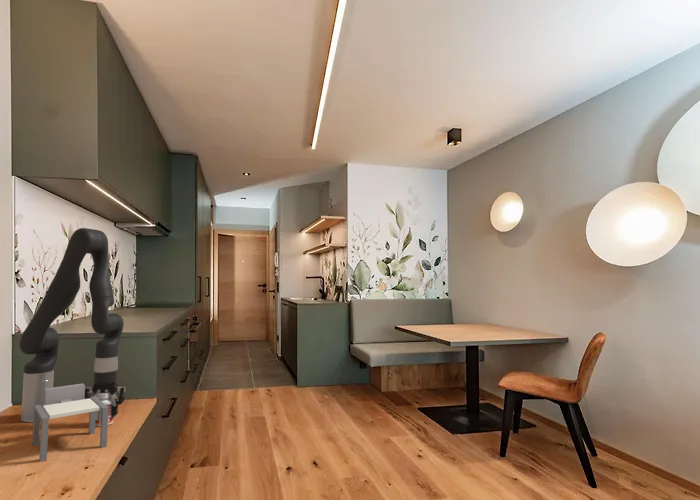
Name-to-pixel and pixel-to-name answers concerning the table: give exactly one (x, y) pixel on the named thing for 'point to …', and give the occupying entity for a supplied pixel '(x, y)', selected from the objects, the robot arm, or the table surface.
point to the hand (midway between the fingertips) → (103, 416)
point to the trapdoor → (67, 401)
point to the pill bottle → (105, 400)
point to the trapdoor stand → (41, 414)
